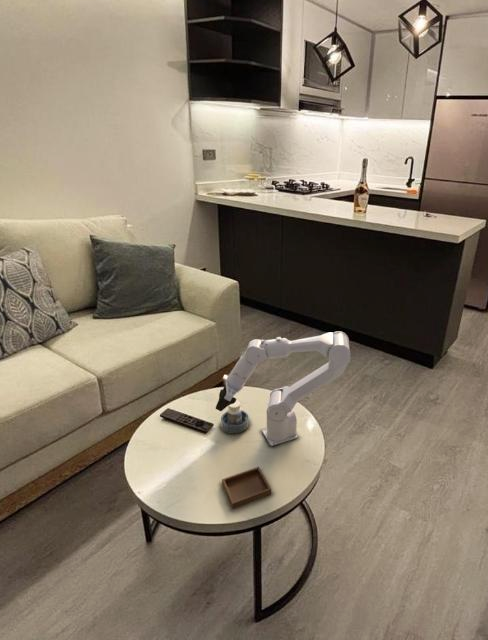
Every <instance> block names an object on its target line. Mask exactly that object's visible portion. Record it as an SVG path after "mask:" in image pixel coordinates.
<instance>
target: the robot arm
mask: <svg viewBox="0 0 488 640" xmlns="http://www.w3.org/2000/svg"><path fill="white" fill-rule="evenodd" d="M301 352H302V353H303V352H305V353H306V352H318V353H319V354H320V355H322V356H323V358H327V355H328V361H327V362H326V363H325V364H323V365H322V366H320V367H318V368H317V369H315V370H313V371H312V372H311V373H309V374H307V375H306V376H304V377H303V378H301V379H300V380H298V381H296V382H295V383H293V384H291V385H290V386H289V385H288V386H287V385H284V386H282V387H280V388H275V389H273V390H271V392H270V393H269V401H268V405H267V409H266V428H264V429H263V430H261V432H262V434H263V436H264V437H265V439H266V440H267V442H268V443H269V445H270V446H271V447H274V446H277V445H280V444H282V443H283V444H284V443H286V442H289V441H291V440H295V439H297V438H298V435H297V423H298V422H297V421H298V420H297V415H296V413H295V411H294V408H295V406H296V404H297V403H298V402H300V401H301V400H303V399H305V398H307V397H308V396H310V395H312V394H313V393H314V392H317V391H318V390H319V389H321V388H322V387H323V388H324V387H325V386H326V385H328V384H329V383H331V382H332V381H335V380H336V379H337V378H339V377H341V376H342V375H343V374H344V372H345V371H346V368H347V367H348V365H349V364H350V363H351V357H352V356H351V349H350V338H349V336H348V335H347V333H345V332H343V331H334V332H325V333H323V334H321V335H315V336H311V337H304V338H300V339H299V338H298V339H294V340H289V339H288V338H286V337H283V338H282V337H281V336H276V338H273V339H266V340H265V339H259V338H255V339H251V341H248V344H247V348H246V350H245V352H243V353H242V355H241V356H240V358H239V359H238V360H237V362H236V364H235V365H234V367H233V368H232V369H231V371H230V373H227V374H224V375H223V377H222V380H223V381H224V386H223V388H222V389H220V391H219V393H218V394H219V395H218V400H217V403H216V406H215V410H217V411H219V412H222V411H224V410H225V409H226V408H227V407H228V406H229V405H231V404H234V403H235V402H236V401H237V398H236V397H234V396H235V395H236V394H238V393H239V392H240V391H242V390H243V388H244V386H245V385H246V383H247V381H248V380H249V379H250V377H251V376H252V374H253V373H254V371H255V370H256V368H257V367H258V365H261V364H262V363H263V362H264V361H266V360H271V359H272V360H273V359H279V358H288V357H289V356H290V355H291V354H292V353H301Z"/></svg>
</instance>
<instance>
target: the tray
mask: <svg viewBox="0 0 488 640" xmlns="http://www.w3.org/2000/svg"><path fill="white" fill-rule="evenodd" d="M221 485H222V487H223V490H224V492H225V495H226V497H227V500H228V502H229V504H230V507H231V509H232V510H233V509H236V508H238V507H241V506H244V505H247V504H249V503H253V502H255V501H257V500H260V499H262V498H266V497H268V496H270V495H272V488H271V485H269V482H268V481H267V478H266V477H265V475H264V473H263V472H262V470H261V468H260V466H256V467H253V468H251V469H248V470H245V471H243V472H239V473H236V474H233V475H230V476H228V477H225V478H222V479H221Z"/></svg>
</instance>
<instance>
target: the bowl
mask: <svg viewBox="0 0 488 640" xmlns="http://www.w3.org/2000/svg"><path fill="white" fill-rule="evenodd" d="M249 419H250V418H249V414H248V413H247V412H246V411H244V410H242V424H240V425H237V426H230V425H228V412H227V411H226V412H224V413H223V414H222V415H221V417H220V427H221V429H222V431H224V432H226V433H228V434H238V433H241V432H245V431H246V430H247V429H248V427H249V424H250V421H249Z"/></svg>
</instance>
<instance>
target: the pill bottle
mask: <svg viewBox="0 0 488 640" xmlns="http://www.w3.org/2000/svg"><path fill="white" fill-rule="evenodd" d="M241 406H242V405H241V402H240V401H239V400H236V402H235V403H234V404H231V405H229V406H227V407H228V408H227V411H226V412H228V425H230V426H237V425H240V424H242V411H243V409H242V407H241Z"/></svg>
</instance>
